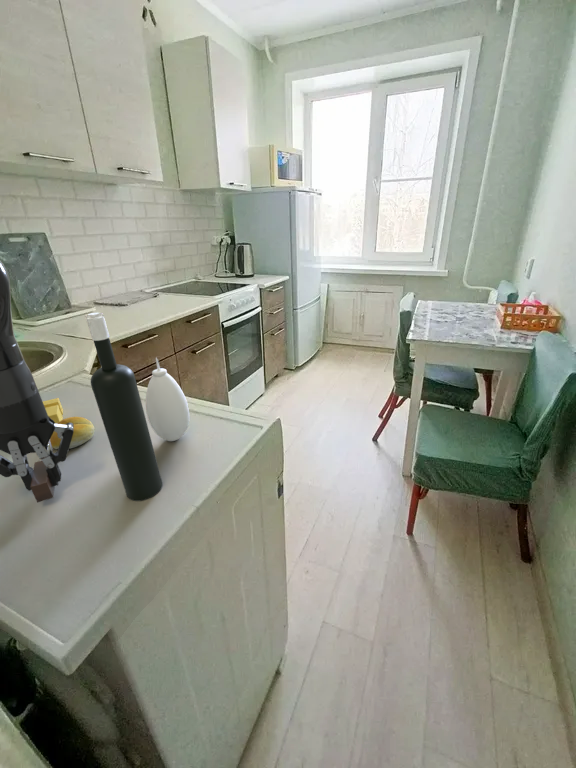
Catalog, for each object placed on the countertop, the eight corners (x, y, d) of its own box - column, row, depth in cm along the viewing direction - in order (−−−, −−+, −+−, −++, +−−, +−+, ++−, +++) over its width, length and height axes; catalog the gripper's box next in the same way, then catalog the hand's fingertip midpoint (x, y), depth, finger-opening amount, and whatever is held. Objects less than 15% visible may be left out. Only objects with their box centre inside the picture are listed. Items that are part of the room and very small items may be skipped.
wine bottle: (128, 506, 56) (68, 322, 43) (124, 484, 61) (69, 312, 48) (165, 492, 58) (119, 314, 45) (159, 472, 63) (115, 306, 50)
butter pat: (63, 414, 84) (58, 401, 83) (43, 419, 82) (38, 406, 81) (63, 410, 86) (58, 397, 85) (44, 414, 84) (39, 402, 83)
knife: (53, 497, 57) (46, 482, 55) (37, 502, 56) (30, 487, 54) (57, 446, 69) (52, 433, 68) (44, 450, 68) (39, 436, 67)
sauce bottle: (181, 424, 78) (165, 346, 70) (200, 437, 73) (185, 355, 65) (147, 439, 73) (126, 358, 65) (165, 454, 68) (144, 369, 60)
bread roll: (52, 456, 69) (45, 439, 67) (51, 435, 76) (45, 419, 74) (98, 441, 73) (92, 425, 71) (93, 423, 80) (88, 407, 78)
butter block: (62, 427, 79) (56, 414, 77) (41, 432, 77) (35, 419, 76) (62, 417, 83) (57, 404, 81) (42, 422, 81) (37, 409, 80)
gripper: (62, 374, 57) (91, 460, 65) (-47, 395, 51) (-1, 487, 59) (60, 392, 51) (93, 484, 59) (-64, 418, 45) (-10, 517, 53)
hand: (46, 485), depth 59 cm, fingers closed on knife, 2 cm apart
